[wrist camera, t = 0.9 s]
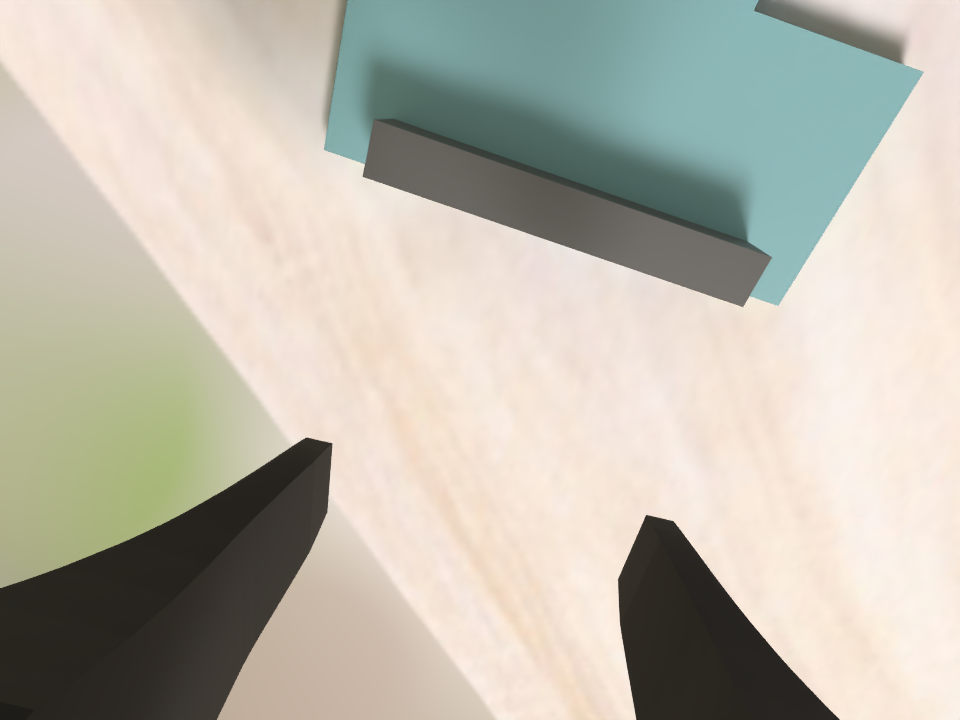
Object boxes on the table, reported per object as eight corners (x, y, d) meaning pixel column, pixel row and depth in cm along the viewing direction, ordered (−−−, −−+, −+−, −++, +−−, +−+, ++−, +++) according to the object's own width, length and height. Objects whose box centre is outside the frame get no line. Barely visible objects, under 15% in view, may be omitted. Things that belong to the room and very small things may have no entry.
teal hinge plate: (975, -49, 14) (1081, -89, 11) (766, 296, 18) (804, 328, 16) (402, -261, 13) (366, -357, 10) (335, 147, 18) (297, 154, 15)
